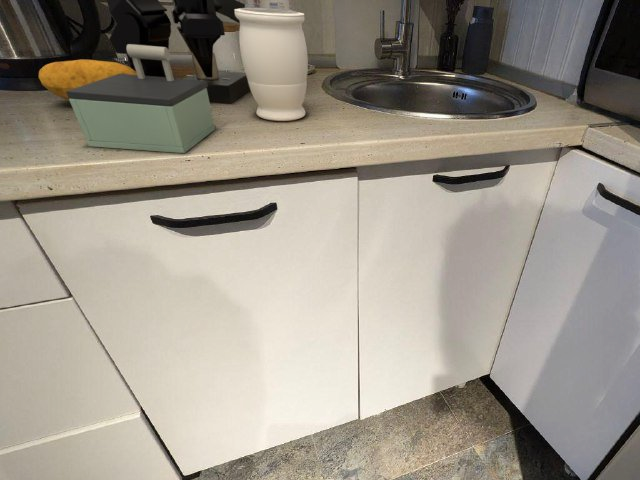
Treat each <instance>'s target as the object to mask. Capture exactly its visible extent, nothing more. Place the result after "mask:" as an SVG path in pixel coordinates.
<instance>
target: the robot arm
mask: <svg viewBox="0 0 640 480" xmlns="http://www.w3.org/2000/svg"><path fill="white" fill-rule="evenodd" d="M106 3H107V8H108V11H109V13H110V15H111V17H112V18H113V20H114V22H115V23H116V24H115V27H114V28H113V31H112V32H111V35H110V37H109V43H110V44H111V47H112V48H113V49H114V51H115V52H116V53H117V54H124V55H126V57H127V60H128V66H129V67H130V68H132V69H133V70H134V71H136V69H135V66H134V63H133V59H132V58H131V57H130V56H129V55H128V53H127V49H126V47H127V45H128V44H133V45H145V46H157V47H166V48H168V50H170V37H171V34H172V28H171V27H172V23H171V19H170V18H169V15H168V14H167V13H166V12H168V9H167V8H166V7H165V6H164V5H162V3H161V2H160V1H159V0H106ZM239 8H246V4H245V3H243V2H240V1H238V0H173V6H172V7H171V9H170V13H171V18H172V21H173V23H174V24H176V25H177V24H180V26H176V29H177V30H178V32H179V34H180V36H181V37H182V39H183V41H184V43H185V44H186V46H187V48H188V49H189V51H190V54H191V53H193V55H194V56H195V58H196V60H197V62H198V64H199V65H200V67H201V69H202V71H203V72H204V74H205V76H206V77H212V69H213V53H214V45H215V44H216V42H217V41H218V40H219V39H221V36H226V33H225V32H226V31H225V26H224V21H223V20H221V18H220V17H218V16H217V14H220V15H222V16H225V17H227V18H229V19H230V20H232V21H234V22H236V23H238V24H240V21H239V20H238V19H237V18H236V16H235V9H239ZM140 61H141V65H142V68H143V71H144V75H145V76H154V77H166V75H165V71H164V67H163V63H162V60H151V59H140Z"/></svg>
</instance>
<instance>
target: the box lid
mask: <svg viewBox="0 0 640 480" xmlns="http://www.w3.org/2000/svg"><path fill="white" fill-rule="evenodd" d="M126 49H127V53H128V55H129V56H130V57H131V58H132V59H133V63H134V66H135V69H136V72H137V75H129V74H117V75H114V76H111V77H108V78H105V79H102V80H99V81H96V82H93V83H90V84H86V85H83V86H80V87H77V88H74V89H71V90H68V91H66V93H67V96H68V98H73V99H86V100H99V101H112V102H125V103H137V104H150V105H163V106H173V105H174V104H176V103H178V102H180V101H182V100H184V99H186V98H187V97H189V96H191V95H193V94H195V93H197V92H199V91H200V90H202V89H204V88H206V87H208V85H207V81H204V80H191V79H185V78H179V77H178V78H177V77H174V74H173V70H172V67H171V62H170V60H171V52H170V49H168V48H166V47H157V46H145V45H133V44H128V45H127V47H126ZM140 59H151V60H162V63H163V67H164V71H165V75H166V77H154V76H145V75H144V71H143V68H142V65H141V61H140Z"/></svg>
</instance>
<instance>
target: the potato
mask: <svg viewBox="0 0 640 480" xmlns="http://www.w3.org/2000/svg"><path fill="white" fill-rule="evenodd" d="M117 74H129V75H137V72H136V71H134V70H133V69H132V68H130V66H129V65H126V64H122V63H119V62H114V61H107V60H106V61H104V60H95V59H83V58H81V59H75V60H64V61H54V62H50V63H47V64H45V65H44V66H42V68H40V69H39V71H38V79H39V81H40V83H41V85H42V86H43V87H44V88H45V89H47V90H48V91H49V92H50V93H51V94H52V95H55V96H57V97H59V98H61V99H64V100H66V101H69V99H70V98H68V96H67V93H66V91H68V90H71V89H74V88H77V87H80V86H83V85H86V84H90V83H93V82H96V81H99V80H102V79H105V78H108V77H111V76H114V75H117Z"/></svg>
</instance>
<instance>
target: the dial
mask: <svg viewBox="0 0 640 480" xmlns="http://www.w3.org/2000/svg"><path fill="white" fill-rule="evenodd" d="M190 55H191V60H192V63H193V68H194V72H195V73H194V74H196V77H197V78H198V79H203V80H213V79H218V78H219V73H218V71H219V69H218V64H217V58H216V54H215V52H213V69H212V77H206V76H205V74H204V72H203V71H202V69H201V67H200V65H199V64H198V62H197V60H196V58H195V56H194V55H193V53H191V52H190Z"/></svg>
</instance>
